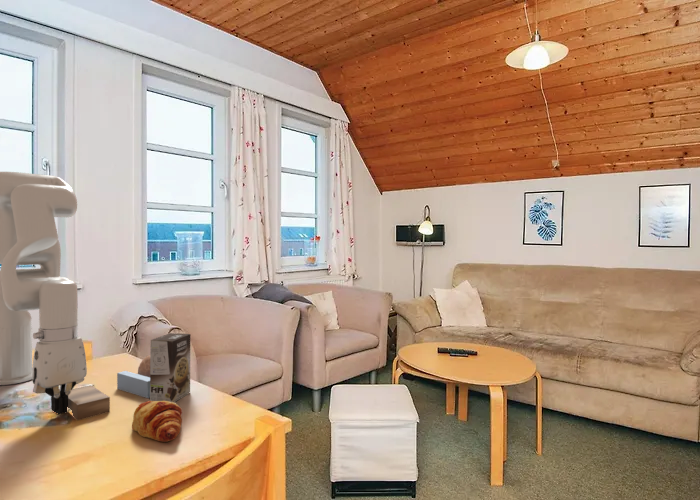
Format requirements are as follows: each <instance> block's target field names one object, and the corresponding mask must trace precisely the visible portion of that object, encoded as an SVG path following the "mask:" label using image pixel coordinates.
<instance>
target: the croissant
mask: <svg viewBox="0 0 700 500" xmlns="http://www.w3.org/2000/svg"><path fill="white" fill-rule="evenodd" d="M182 415H183V409H182V407H180V406H179V404H178V403H176V402H170V401H150V400H148V401H145V402H142V403H140V404H138V406H137V407H136V409H135V410H134V412H133V416H132V417H133V419H132V423H131V429H132V431H135V432H136V433H138V434H139V435H140V436H142V438H143V437H144V438H148V439H152V440H155V441H159V442H163V443H164V442H165V443H166V442H170V441H172V440H175V439H176V438H178V435H179V434H180V433H181V429H182V423H183V419H182Z"/></svg>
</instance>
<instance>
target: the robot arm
mask: <svg viewBox="0 0 700 500" xmlns="http://www.w3.org/2000/svg"><path fill="white" fill-rule="evenodd" d="M77 210H78V199H77V196H76V194H75V191H74V190H73V188H72V187H71V186H70V185H69V184H68V183H67V182H66V181H65V180H63V179H62V178H61V177H59V176H56V175H51V174H49V175H48V174H40V173H28V172H18V171H16V172H15V171H0V386H8V385H15V384H21V383H25V382H28V381H31V380H32V384H33V389H32V392H33V393H35V394H47V395H48V396H50V399H51V400H50V401H51V402H50V403H51V405H50V409H51V411H52V412H53V411H54V412H56V413H58V414H57V415H59V414H60V415H62V414H66V413H67V407H68V395H69V394H70V393H71V390H72V389H75V388H74V387H75V386H76V385H79V384H80V383H83V382H84V381H85V377H87V369H88V368H87V357H86V350H85V344H84V341H83V338H82V336H79V328H78V327H79V326H78V324H79V323H78V321H79V319H78V315H79V314H78V285H77V283H76V282H75V281H74V280H71V279H69V278H68V277H65V276H61V257H62V255H61V254H62V253H61V252H62V251H61V244H60V241H59V235H58V231H57V225H56V221H55V218H72V217H73V216H74V215H76V212H77ZM34 265H35V266H36V265H37V266H38V265H39V266H40V268H17V266H34ZM37 310H38V311H39V312H38V314H39V316H38V317H39V318H38V320H39V321H38V322H39V328H38V331H37V332H34V333H33V317H32V316H31V313H30V311H37ZM36 339H38V341H37V342H36V343H35V348H34V352H33V340H36ZM33 353H34V354H33ZM54 412H53V413H54ZM65 412H66V413H65ZM56 413H55V414H56Z"/></svg>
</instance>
